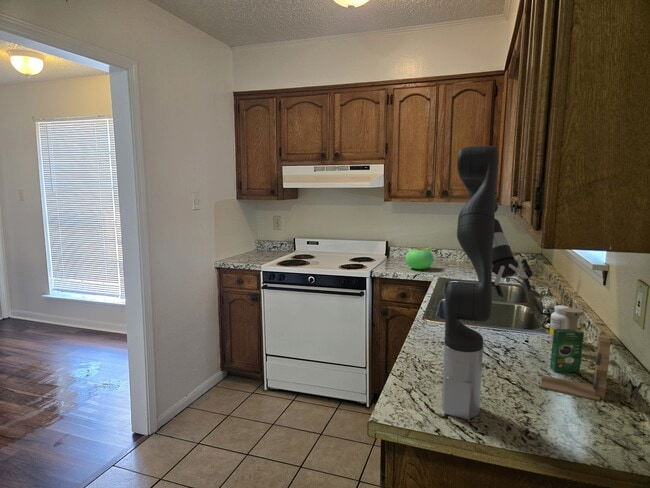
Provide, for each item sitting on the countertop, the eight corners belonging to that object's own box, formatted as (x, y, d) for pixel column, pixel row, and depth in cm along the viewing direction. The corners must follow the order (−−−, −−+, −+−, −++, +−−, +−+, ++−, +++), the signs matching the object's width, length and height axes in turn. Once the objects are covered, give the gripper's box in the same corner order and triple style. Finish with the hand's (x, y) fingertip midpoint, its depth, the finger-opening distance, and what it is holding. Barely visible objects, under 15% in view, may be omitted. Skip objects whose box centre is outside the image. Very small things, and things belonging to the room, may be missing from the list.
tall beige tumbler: (555, 349, 143) (559, 307, 141) (574, 349, 143) (578, 308, 140) (562, 355, 138) (566, 312, 136) (582, 355, 138) (586, 312, 136)
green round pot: (403, 270, 269) (404, 248, 267) (407, 265, 285) (407, 244, 282) (432, 272, 263) (433, 249, 261) (434, 267, 279) (434, 245, 277)
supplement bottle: (567, 338, 153) (569, 305, 151) (572, 345, 146) (575, 310, 145) (547, 336, 155) (549, 303, 153) (551, 343, 148) (554, 309, 146)
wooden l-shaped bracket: (605, 402, 109) (611, 344, 107) (540, 388, 117) (544, 334, 114) (602, 383, 119) (607, 330, 117) (542, 371, 127) (546, 321, 124)
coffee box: (575, 368, 129) (579, 328, 127) (580, 372, 126) (584, 331, 124) (549, 368, 129) (552, 328, 127) (554, 372, 126) (557, 331, 124)
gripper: (478, 249, 137) (495, 295, 130) (521, 239, 135) (541, 285, 129) (474, 257, 143) (490, 301, 137) (516, 248, 142) (534, 292, 135)
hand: (515, 294), depth 133 cm, fingers open, 8 cm apart
